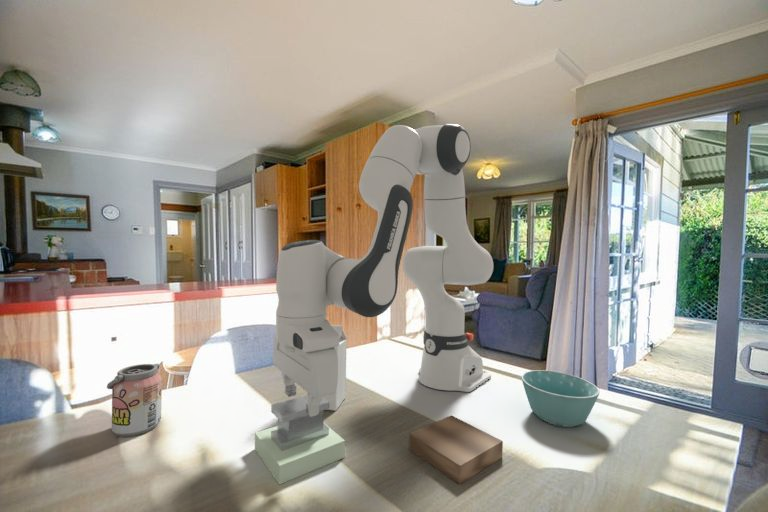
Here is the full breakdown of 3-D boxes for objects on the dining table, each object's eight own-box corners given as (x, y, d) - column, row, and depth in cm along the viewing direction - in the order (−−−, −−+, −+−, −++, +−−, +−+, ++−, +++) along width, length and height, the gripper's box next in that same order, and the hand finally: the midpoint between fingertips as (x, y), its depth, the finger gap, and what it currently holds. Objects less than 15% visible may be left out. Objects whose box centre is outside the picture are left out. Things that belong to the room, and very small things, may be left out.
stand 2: (451, 429, 71) (451, 415, 71) (502, 457, 62) (502, 441, 62) (408, 449, 64) (409, 433, 64) (459, 484, 54) (460, 465, 54)
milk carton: (335, 411, 78) (337, 329, 78) (307, 408, 79) (308, 327, 79) (345, 398, 85) (347, 323, 85) (318, 395, 86) (320, 321, 86)
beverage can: (97, 432, 67) (97, 372, 67) (140, 413, 75) (141, 359, 75) (129, 442, 64) (129, 379, 64) (170, 421, 72) (171, 365, 71)
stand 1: (313, 428, 70) (314, 414, 70) (344, 457, 61) (345, 440, 61) (254, 448, 63) (254, 432, 63) (279, 484, 53) (279, 465, 53)
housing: (270, 438, 61) (271, 404, 61) (316, 423, 66) (316, 392, 66) (281, 451, 57) (282, 415, 57) (328, 434, 63) (329, 401, 63)
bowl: (605, 418, 78) (606, 382, 78) (588, 445, 66) (590, 403, 66) (534, 396, 88) (535, 365, 88) (509, 417, 77) (510, 381, 77)
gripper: (264, 320, 68) (264, 388, 68) (309, 345, 52) (309, 434, 52) (294, 317, 72) (294, 381, 72) (345, 338, 56) (344, 421, 56)
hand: (300, 404), depth 62 cm, fingers open, 8 cm apart
